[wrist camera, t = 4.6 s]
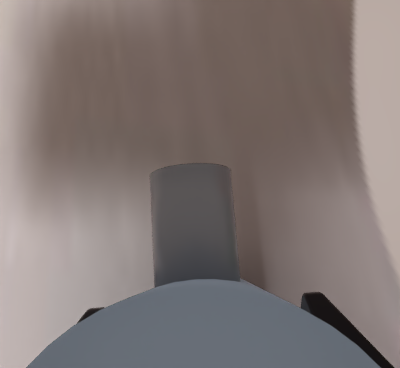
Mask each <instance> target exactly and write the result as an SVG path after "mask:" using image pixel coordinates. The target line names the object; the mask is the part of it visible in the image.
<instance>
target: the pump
mask: <svg viewBox="0 0 400 368" xmlns="http://www.w3.org/2000/svg"><path fill="white" fill-rule="evenodd" d="M150 191H151V214H152V237H153V260H154V283H155V288H153V289H151V290H148V291H145V292H143V293H140V294H137V295H135V296H132V297H129V298H127V299H125V300H122V301H120V302H118V303H115V304H113V305H111V306H108V307H106V308H104V309H101V310H99V311H98V312H96V313H94V314H93V315H91V316H89V317H88V318H86V319H84V320H82V321H81V322H79V323H77V324H76V325H74V326H73V327H71V328H70V329H69V330H67V331H66V332H65V333H64V334H62V335H61V336H60V337H59V338H57V339H56V340H55V341H53V342H52V343H51V344H50V345H48V346H47V347H46V348H45V349H44V350H43V351H42V352H41V353H40V354H39V355H38V356H37V357H36V358H35V359H34V360H33V361H32V362H31V363H30V364H29V365H28V366H27V367H26V368H381V367H380V366H378V365H377V364H376V363H375V362H374V361H373V360H372V359H371V358H370V357H369V356H368V355H367V354H366V353H365V352H364V351H363V350H362V349H361V348H360V347H359V346H358V345H356V344H355V343H354V342H352V341H351V340H350V339H348V338H347V337H346V336H344V335H343V334H342V333H340V332H339V331H338V330H336V329H335V328H334V327H332V326H331V325H329V324H327V323H326V322H324V321H322V320H320V319H319V318H317V317H315V316H314V315H312V314H310V313H308V312H307V311H305V310H303V309H301V308H299V307H297V306H295V305H293V304H291V303H289V302H287V301H285V300H283V299H281V298H279V297H277V296H275V295H273V294H271V293H269V292H267V291H265V290H263V289H261V288H259V287H257V286H255V285H253V284H251V283H249V282H247V281H245V280H243V279H241V278H240V270H239V259H238V248H237V237H236V226H235V215H234V204H233V193H232V182H231V171H230V169H229V168H228V167H226V166H223V165H218V164H208V163H192V164H180V165H174V166H169V167H164V168H161V169H158V170H156V171H154V172H152V173H151V174H150Z"/></svg>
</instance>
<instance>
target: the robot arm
mask: <svg viewBox="0 0 400 368" xmlns="http://www.w3.org/2000/svg"><path fill="white" fill-rule="evenodd" d="M101 309H104V307H102V308H91V309H89V310H87V311H86V312H85V314H84V315H83V316H82V317H81V319H80V320H79V321H78V323H79V322H81V321H82V320H84V319H86V318H88V317H89V316H91V315H93V314H94V313H96V312H98V311H99V310H101ZM301 309H303V310H305V311H307V312H308V313H310V314H312V315H314V316H315V317H317V318H319V319H320V320H322V321H324V322H326V323H327V324H329V325H331V326H332V327H334V328H335V329H336V330H338V331H339V332H340V333H342V334H343V335H344V336H346V337H347V338H348V339H350V340H351V341H352V342H354V343H355V344H356V345H358V346H359V347H360V348H361V349H362V350H363V351H364V352H365V353H366V354H367V355H368V356H369V357H370V358H371V359H372V360H373V361H374V362H375V363H376V364H377V365H378V366H380V367H381V368H394V367H393V366H392V365H391V364H390V363H389V362H388V361H387V360H386V359H385V358H384V357H383V356H382V355H381V353H380V352H379V351H378V350H377V349H376V348H375V347H374V346H373V345H372V344H371V343H370V342H369V341H368V340H367V339H366V338H365V337H364V336H363V335H362V334H361V333H360V332H359V331H358V330H357V329H356V328H355V327H354V326H353V325H352V323H351V322H350V321H349V320H348V319H347V318H346V317H345V316H344V315H343V314H342V313H341V312H340V311H339V310H338V309H337V308H336V307H335V306H334V305H333V304H332V303H331V302H330V301H329V300H328V299H327V298H326V297H325V296H324V295H323V294H322V293H320V292H309V293H304V294H303V296H302V302H301Z"/></svg>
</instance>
